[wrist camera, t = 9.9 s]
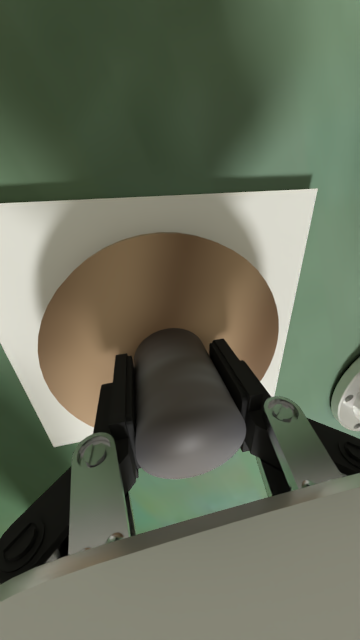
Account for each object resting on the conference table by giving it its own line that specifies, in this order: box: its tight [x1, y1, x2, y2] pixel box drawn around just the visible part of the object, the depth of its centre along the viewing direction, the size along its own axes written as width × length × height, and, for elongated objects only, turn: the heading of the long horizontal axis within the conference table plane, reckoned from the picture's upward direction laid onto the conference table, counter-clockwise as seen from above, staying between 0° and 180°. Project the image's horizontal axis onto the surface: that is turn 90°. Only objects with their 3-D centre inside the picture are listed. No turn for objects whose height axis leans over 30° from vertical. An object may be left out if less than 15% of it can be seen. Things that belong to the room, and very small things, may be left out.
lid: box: [38, 232, 279, 479], centre depth 10 cm, size 13×13×6 cm
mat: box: [0, 189, 318, 447], centre depth 14 cm, size 18×16×1 cm
